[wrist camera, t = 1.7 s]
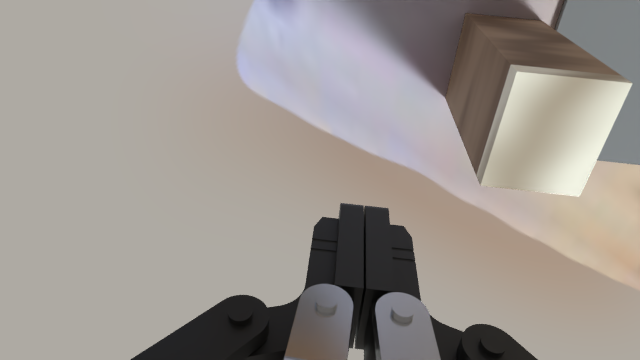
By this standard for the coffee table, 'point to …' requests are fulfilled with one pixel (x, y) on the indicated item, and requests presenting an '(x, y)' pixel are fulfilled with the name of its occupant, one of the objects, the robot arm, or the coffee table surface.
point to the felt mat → (611, 62)
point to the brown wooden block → (531, 104)
